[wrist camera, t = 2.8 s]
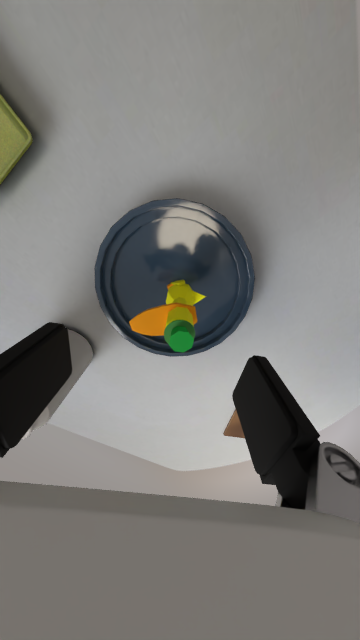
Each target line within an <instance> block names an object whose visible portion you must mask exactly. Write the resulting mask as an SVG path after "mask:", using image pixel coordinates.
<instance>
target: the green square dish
mask: <svg viewBox="0 0 360 640" xmlns="http://www.w3.org/2000/svg"><path fill="white" fill-rule="evenodd" d="M31 144H32V135H31V133H30V131H29V130H28V129H27V128H26V126H25V125H24V124H23V122H22V121H21V120H20V119H19V117H18V116H17V115H16V113H15V112H14V111H13V109H12V108H11V107H10V106H9V104H8V103H7V102H6V100H5V99H4V98H3V97H2V95H1V94H0V184H1V183H2V182H3V180H4V179H5V178H6V177H7V175H8V174H9V173H10V171H11V170H12V169H13V167H14V166H15V165H16V163H17V162H18V161H19V160H20V158H21V157H22V156H23V154H24V153H25V152H26V150H27V149H28V148H29V147H30V145H31Z"/></svg>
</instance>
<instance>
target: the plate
mask: <svg viewBox="0 0 360 640" xmlns="http://www.w3.org/2000/svg"><path fill="white" fill-rule="evenodd" d="M254 277H255V276H254V269H253V263H252V257H251V254H250V252H249V250H248V248H247V245H246V243H245V241H244V239H243V237H242V235H241V234H240V233H239V232H238V230H237V229H236V228H235V227H234V226H233V225H232V224H231V223H230V222H229V220H228V219H227V218H226V217H225V216H223V215H221V214H220V213H218V212H216V211H214V210H213V209H211V208H209V207H208V206H206V205H204V204H201V203H197V202H192V201H188V200H184V199H178V198H176V199H165V200H154V201H151V202H149V203H146V204H144V205H142V206H139V207H137V208H135V209H132V210H130V211H129V212H128V213H127V214H126V215H124V216H123V217H122V218H121V219H120V220H119V221H118V222H116V223H115V224H114V225H113V226H112V227H111V229H110V231H109V232H108V234H107V236H106V237H105V239H104V241H103V242H102V244H101V245H100V249H99V252H98V256H97V260H96V264H95V288H96V289H95V290H96V293H97V296H98V300H99V303H100V306H101V309H102V310H103V312H104V314H105V316H106V317H107V319H108V321H109V322H110V324H111V325H112V326H113V327H114V328H115V329H116V330H117V331H118V332H119V334H120V335H121V336H122V337H124V338H125V339H126V340H128V341H129V342H131V343H132V344H134V345H135V346H137V347H139V348H141V349H144V350H146V351H149V352H151V353H155V354H159V355H165V356H188V355H193V354H197V353H200V352H204V351H206V350H208V349H210V348H212V347H214V346H216V345H218V344H220V343H221V342H222V341H224V340H225V339H226V338H227V337H228V336H229V335H231V334H232V333H233V332H234V331H235V330H236V328H237V327H238V326H239V324H240V323H241V321H242V320H243V319H244V317H245V316H246V313H247V311H248V308H249V306H250V303H251V301H252V297H253V289H254V280H255V278H254ZM178 280H185V284H189V286H190V287H191V289H192V290H193V291H194V292H197V293H199V294H201V295H203V296H206V297H205V298H203V299H202V300H200V301H199V302H197V303H195V304H194V305H193V306H195V309H196V315H197V323H195V324H194V329H195V337H194V342H193V345H192V348H191V349H189V350H187V351H185V352H184V353H183V352H175V351H174V350H173V349H172V348H171V347H170V346H169V344H168V343H167V342H166V341H165V338H164V335H162V336H150V335H143V334H140V333H138V332H135V331H133V330H132V329H131V326H130V323H129V321H130V320H132V319H133V318H134V317H135V316H136V315H138V314H139V313H141V312H143V311H145V310H147V309H150V308H154V307H157V306H161V305H165V304H166V299H167V293H168V289H167V285H169V284H171V282H175V281H178Z"/></svg>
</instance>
